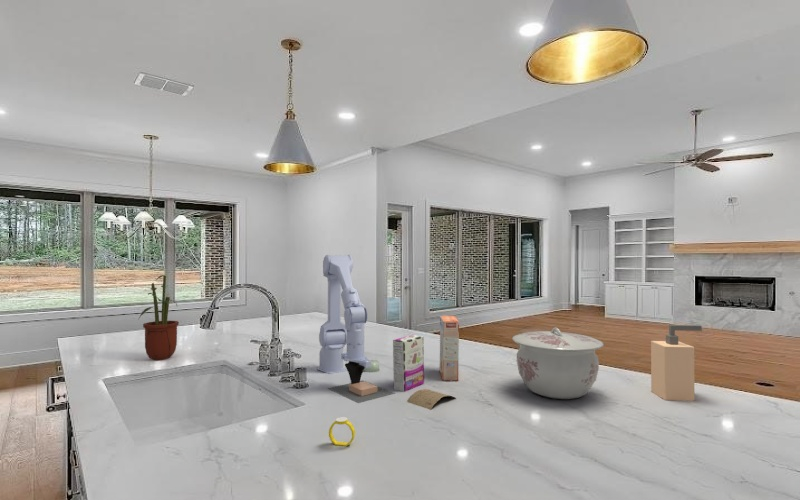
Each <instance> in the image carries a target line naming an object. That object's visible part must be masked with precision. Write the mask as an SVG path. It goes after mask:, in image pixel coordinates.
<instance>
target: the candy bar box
mask: <svg viewBox="0 0 800 500" xmlns="http://www.w3.org/2000/svg"><path fill="white" fill-rule="evenodd" d="M392 350H393V351H392V358H393V367H392V368H393V390H396V391H400V392H405V393H406V392H408V391H410V390H412V389H415V388H417V387H421V386H423V385H424V384H425V368H424V367H425V363H424V362H425V361H424V358H425V357H424V356H425V355H424V353H425V351H424V350H425V349H424V335H419V334H411V335H406V336H403V337H400V338H394V339H393V340H392Z"/></svg>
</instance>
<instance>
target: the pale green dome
mask: <svg viewBox="0 0 800 500" xmlns="http://www.w3.org/2000/svg"><path fill="white" fill-rule="evenodd" d="M369 360H370V361H371V367H367V368H365V369H364V370H363V372H365V373H377V372H379V371H380V361H379V360H378V359H369Z"/></svg>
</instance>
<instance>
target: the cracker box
mask: <svg viewBox="0 0 800 500" xmlns="http://www.w3.org/2000/svg"><path fill="white" fill-rule="evenodd" d="M459 335H460V321H459V320H458V319H457V317H456V316H455V315H440V316H439V372H440V377H441V379H442V381H447V382H449V381H450V382H459V367H460V366H459V363H460V361H459V359H460V358H459V353H460V352H459V350H460V348H459V347H460V344H459V343H460V337H459Z"/></svg>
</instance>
